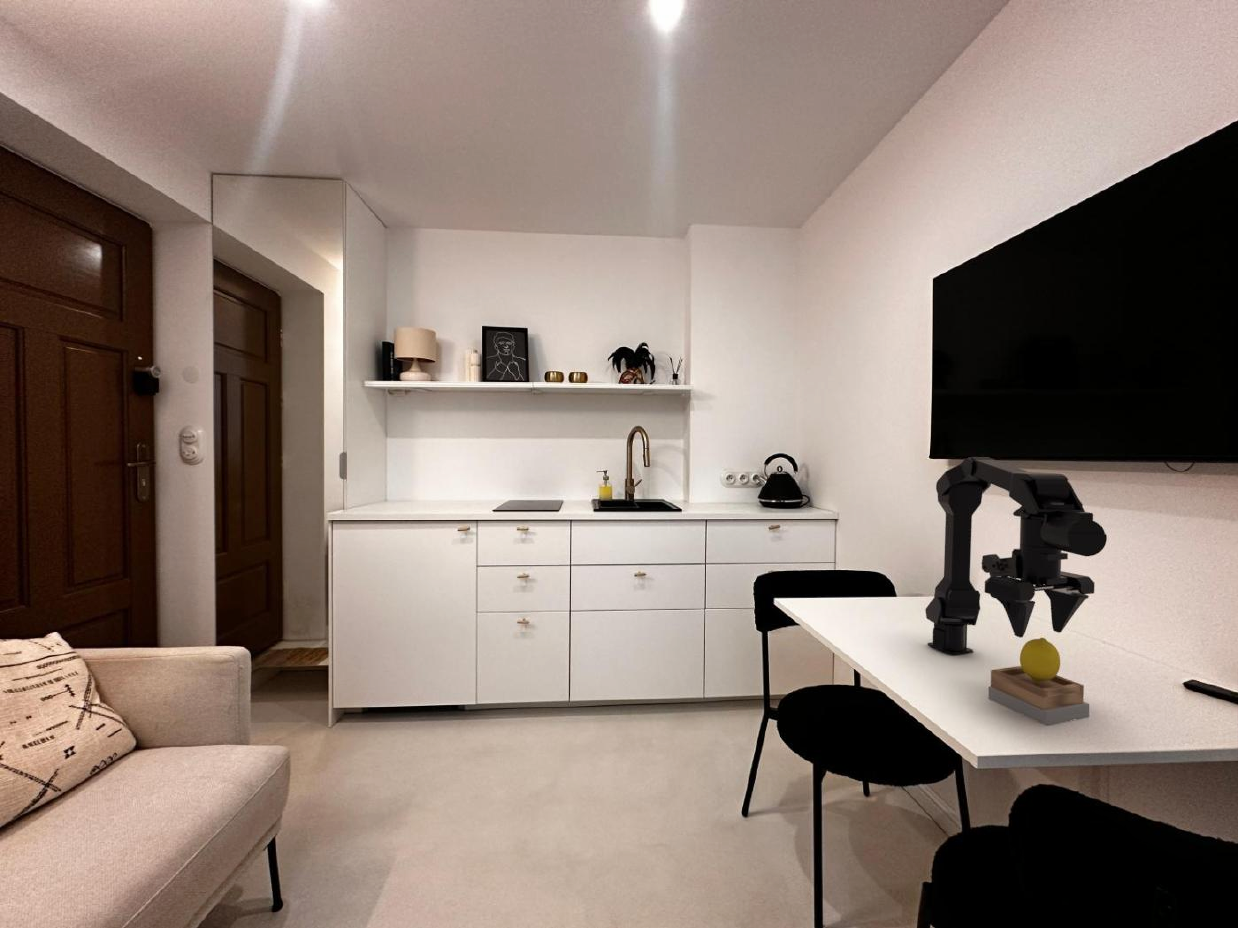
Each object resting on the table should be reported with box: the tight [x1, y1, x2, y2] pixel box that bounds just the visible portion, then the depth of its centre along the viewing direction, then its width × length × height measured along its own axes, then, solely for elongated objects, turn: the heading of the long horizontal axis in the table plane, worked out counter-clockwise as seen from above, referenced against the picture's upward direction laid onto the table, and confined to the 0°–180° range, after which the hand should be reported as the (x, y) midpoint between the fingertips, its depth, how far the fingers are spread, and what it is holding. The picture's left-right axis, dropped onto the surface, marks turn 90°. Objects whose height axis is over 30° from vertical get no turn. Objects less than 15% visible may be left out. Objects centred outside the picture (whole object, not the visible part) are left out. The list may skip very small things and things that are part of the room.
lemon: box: [1019, 637, 1061, 683], centre depth 94 cm, size 6×6×8 cm
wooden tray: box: [990, 665, 1085, 710], centre depth 94 cm, size 9×9×3 cm
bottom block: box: [987, 685, 1090, 727], centre depth 94 cm, size 10×10×3 cm
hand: (1038, 634), depth 94 cm, fingers open, 9 cm apart
